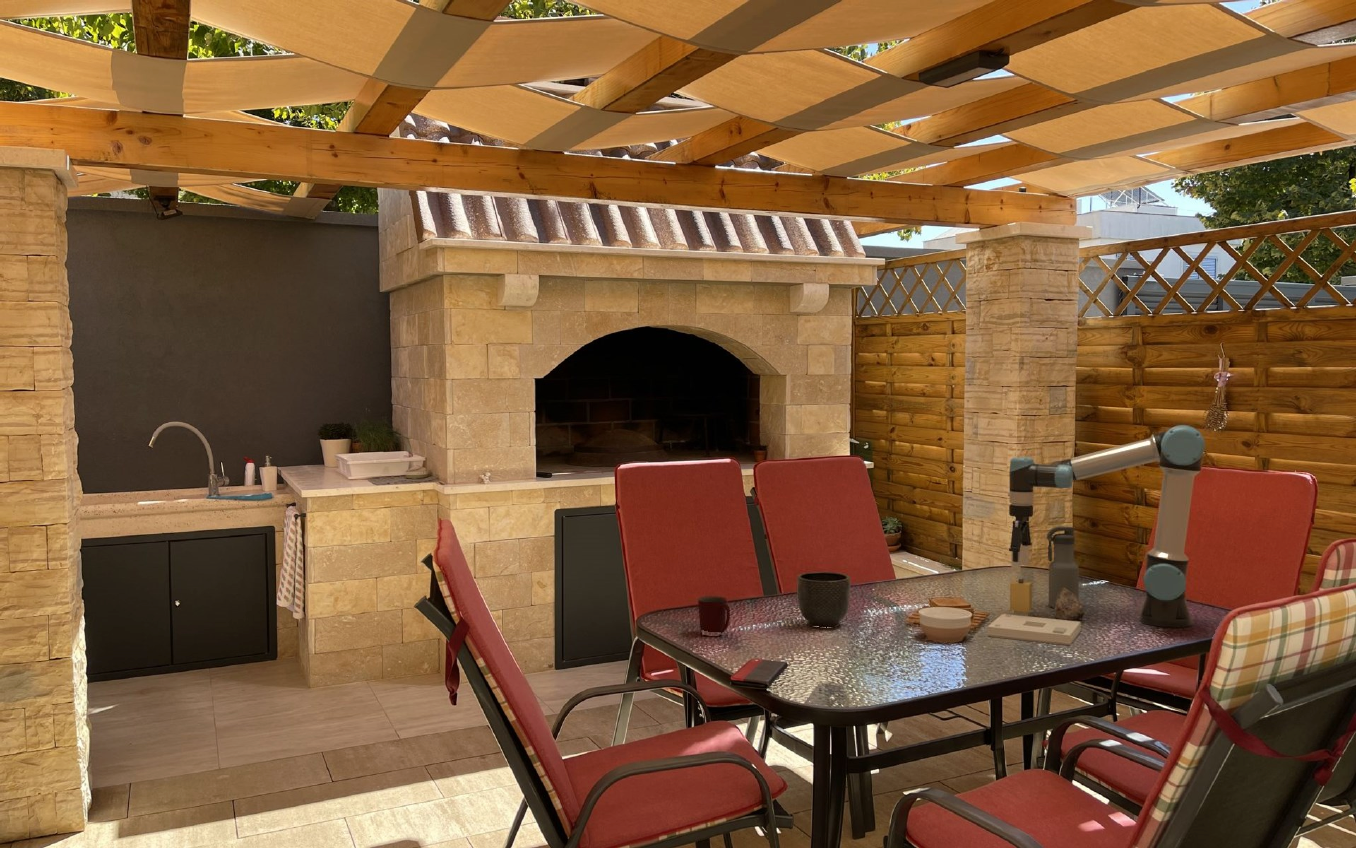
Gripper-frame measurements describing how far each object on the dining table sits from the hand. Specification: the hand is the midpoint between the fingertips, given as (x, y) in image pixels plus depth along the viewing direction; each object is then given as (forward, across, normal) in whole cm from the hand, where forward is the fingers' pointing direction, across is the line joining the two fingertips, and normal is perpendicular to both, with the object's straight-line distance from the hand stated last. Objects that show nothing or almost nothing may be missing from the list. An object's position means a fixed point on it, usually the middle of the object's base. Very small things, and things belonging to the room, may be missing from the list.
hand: (1020, 568), depth 338 cm
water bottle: (+17, -25, +9) cm, 32 cm away
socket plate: (+17, +19, +8) cm, 27 cm away
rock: (+17, -6, +13) cm, 22 cm away
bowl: (+17, +37, -15) cm, 43 cm away
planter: (+18, +39, -54) cm, 69 cm away
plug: (+17, 0, 0) cm, 17 cm away
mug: (+18, +67, -78) cm, 105 cm away
